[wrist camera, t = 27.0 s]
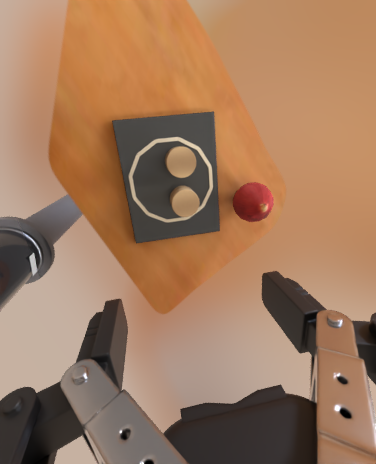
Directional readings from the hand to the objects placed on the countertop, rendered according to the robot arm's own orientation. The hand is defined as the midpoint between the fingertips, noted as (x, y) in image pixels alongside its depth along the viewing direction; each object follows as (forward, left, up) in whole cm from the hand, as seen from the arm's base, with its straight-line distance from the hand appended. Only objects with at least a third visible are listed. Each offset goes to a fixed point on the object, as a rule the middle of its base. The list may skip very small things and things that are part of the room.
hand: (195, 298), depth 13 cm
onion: (+13, -1, -26) cm, 29 cm away
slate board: (+1, +3, -25) cm, 25 cm away
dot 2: (+3, 0, -25) cm, 25 cm away
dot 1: (+3, +6, -25) cm, 25 cm away
